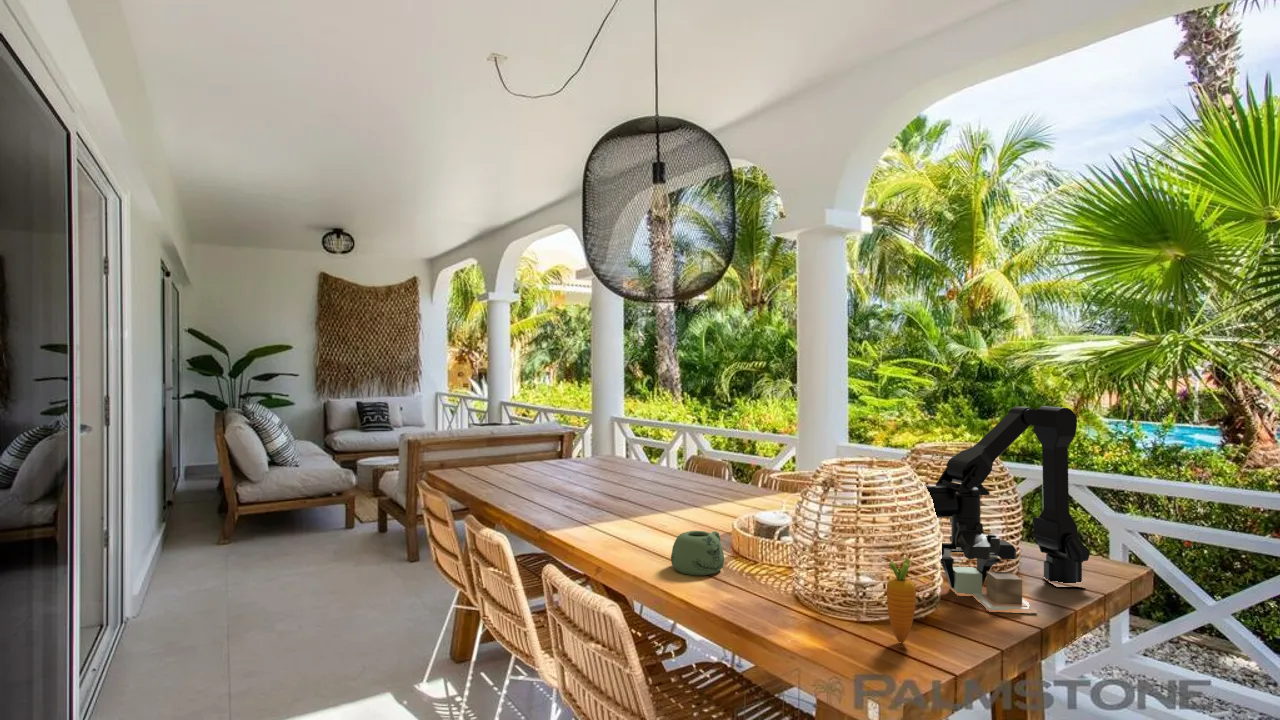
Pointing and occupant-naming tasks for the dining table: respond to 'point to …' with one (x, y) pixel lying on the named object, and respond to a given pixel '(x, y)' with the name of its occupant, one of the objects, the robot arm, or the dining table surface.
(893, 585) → the carrot
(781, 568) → the dining table surface
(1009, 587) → the walnut block
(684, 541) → the green animal planter
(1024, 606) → the bordered square coaster
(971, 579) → the sage block
